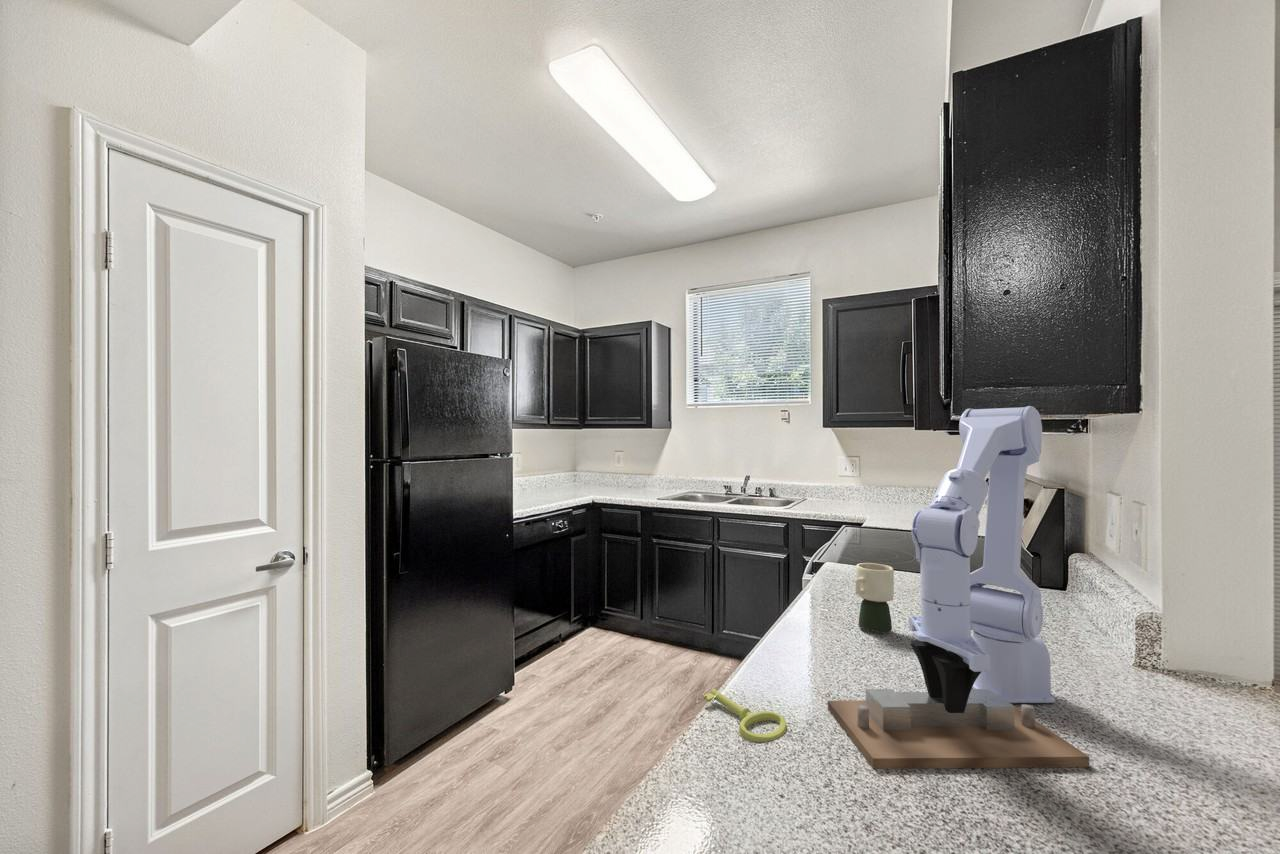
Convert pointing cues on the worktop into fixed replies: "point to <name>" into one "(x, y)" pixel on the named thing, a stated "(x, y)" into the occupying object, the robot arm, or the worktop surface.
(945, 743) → the rack board
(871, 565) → the character mug
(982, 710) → the grey stepped bar
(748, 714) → the key
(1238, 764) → the worktop surface
